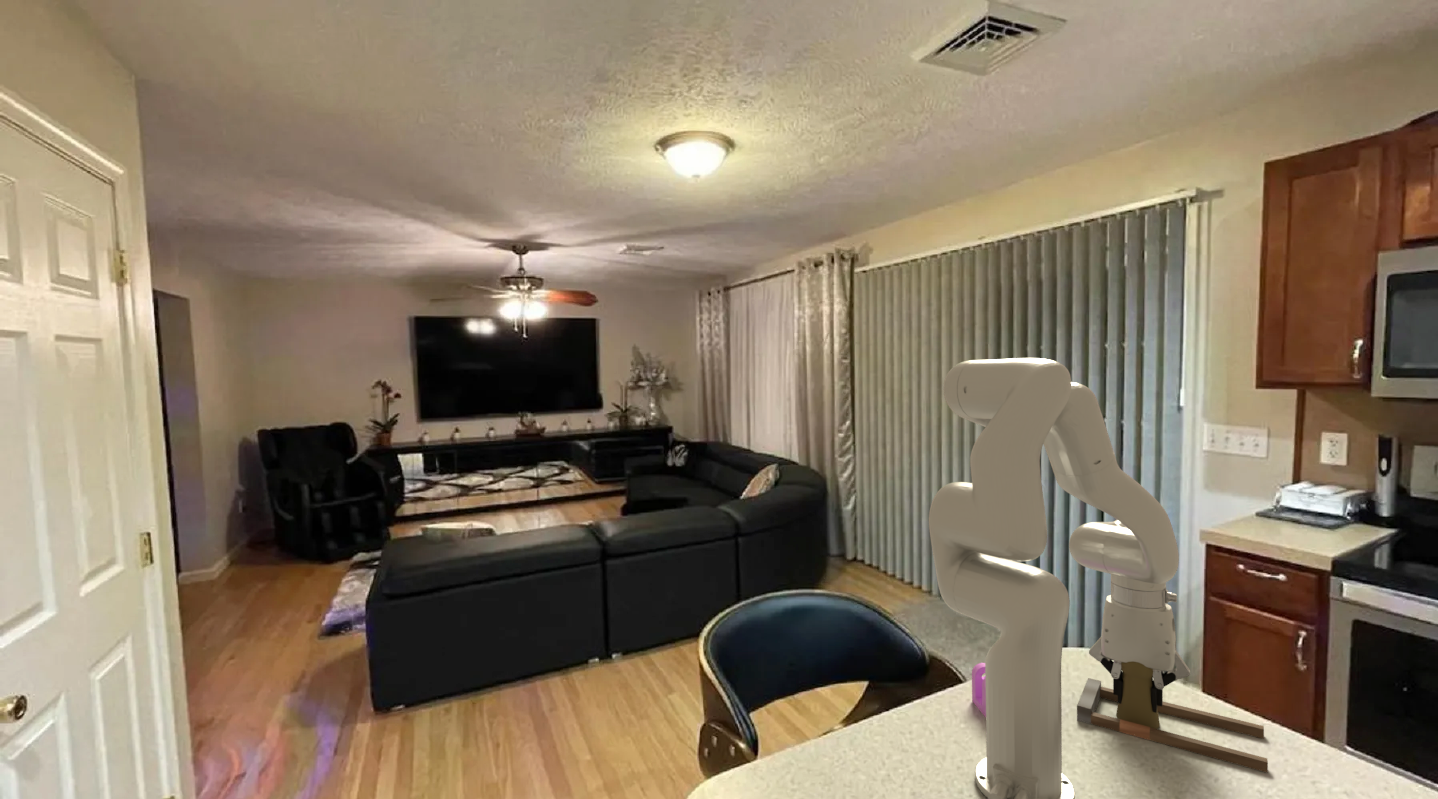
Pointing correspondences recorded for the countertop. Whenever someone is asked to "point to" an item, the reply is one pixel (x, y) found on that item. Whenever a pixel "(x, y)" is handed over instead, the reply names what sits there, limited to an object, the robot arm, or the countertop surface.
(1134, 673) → the cork
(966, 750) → the countertop surface
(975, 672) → the bracket
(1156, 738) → the guide channel
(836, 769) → the countertop surface
